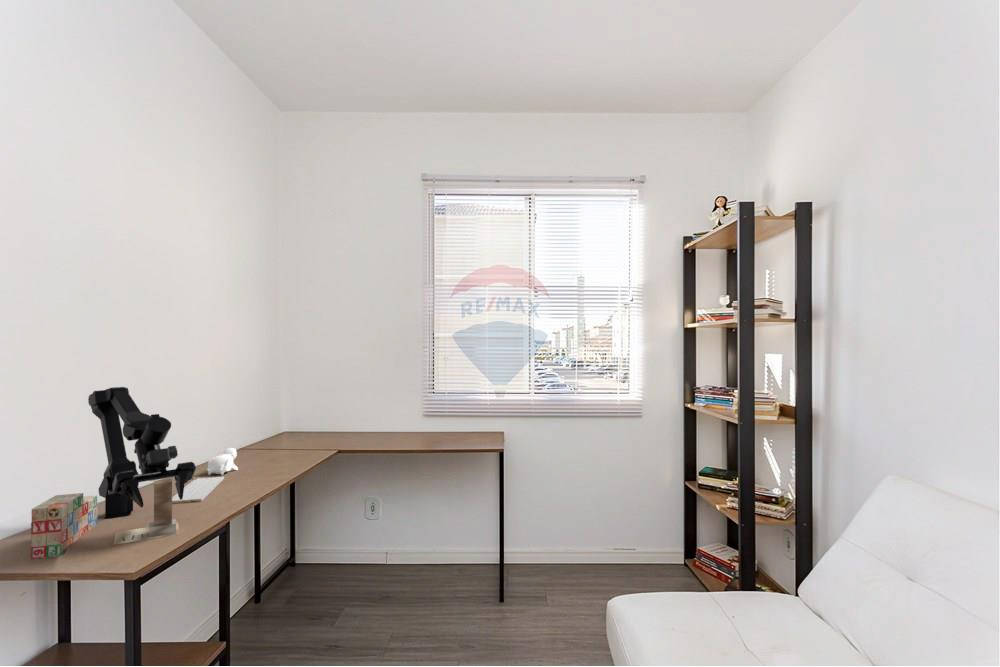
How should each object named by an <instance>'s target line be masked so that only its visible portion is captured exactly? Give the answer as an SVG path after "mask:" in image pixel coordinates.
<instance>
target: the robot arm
mask: <svg viewBox="0 0 1000 667" xmlns="http://www.w3.org/2000/svg"><path fill="white" fill-rule="evenodd" d="M87 402H88V405H89V407H90V408H91V412H92V414H93V415H94V416H95V417H97V418H98V419H99V420H100V425H101V430H102V436H103V441H104V446H105V452H106V458H107V463H108V464H107V466H106V468H105V471H104V472H103V479H102V480H101V482H100V485H99V487H98V495H99V497H102V498H104V499H105V501H104V503H105V504H104V508H105V509H104V511H105V512H104V517H103V518H104V519H110V518H115V517H116V518H117V517H123V516H129V515H131V514H132V512H133V511H134V503H135V504H136V505H138V506H139V507H140V508H143V507H144V500H143V497H142V494H141V492H140V487H139V484H140V483H142V482H143V483H144V482H149V481H150V482H152V481H153V482H154V481H158V480H166V479H172V478H174V480H175V483H174V484H175V489H176V491H177V493H178V496H179V498H180V500H182V498H183V492H184V487H185V485H186V484H188V482H189V481H190V480H191V481H192V478H193V477H194V474H195V472H196V469H197V467H196V464H195V463H194V462H193V461H186V462H180V463H177V466H176V468H175V469H168V470H167V468H169V466H170V462H169V461H172V459H176V458H177V457H178V449H177V446H176V445H170V446H168V447H166V448H161V446H160V444H162V443H163V442H164V441H165V439H166V438H167V435H168V433H169V432H170V429H171V427H172V423H171V421H170V420H169V419H167V418H165V417H163V416H161V415H160V414H159V413H155V414H150V415H149V414H147V413H143V411H141V410H140V408H139V407H138V406H137V404H136V403H135V401H134V399H133V398H132V396H131V395H130V390H129V388H128V387H126V386H116V387H109V388H106V389H102V390H100V389H99V390H93V391H92V393H91V394H89V395H88V400H87ZM121 420H122V422H123V427H122V425H121ZM124 438H126V439H125V440H127V441H129V442H130V441H135V443H134V449H133V453H134V454H136V456H137V461H138V470H140V472H141V473H139V472H138V470H137V463H136V462H135V461H134V460H130V459H129V458H128V457H127V451H126V446H125V441H124Z"/></svg>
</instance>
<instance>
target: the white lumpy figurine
mask: <svg viewBox="0 0 1000 667" xmlns="http://www.w3.org/2000/svg"><path fill="white" fill-rule="evenodd" d="M237 456H238V452H237V449H236V448H234V447H228V448H225V449H224V450H223V452H222V454H220V455H217V456H214V457H212V458H210V459H209V460H208V463H207V469H206V471H207V474H210V475H212V474H215V475H216V474H217V475H220V476H221V475H223V474H224V473H226V472H231V470H233V471H236V470H237V471H238V470H239V467H238V466H237V465H236V464H235V463H234V460H235V459H236V458H237ZM224 475H225V474H224ZM224 475H223V476H224Z"/></svg>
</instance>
